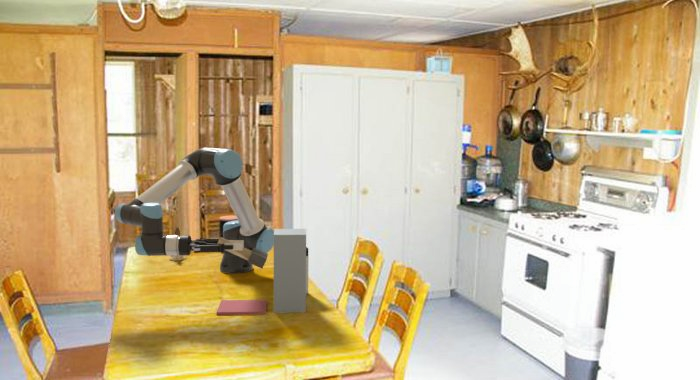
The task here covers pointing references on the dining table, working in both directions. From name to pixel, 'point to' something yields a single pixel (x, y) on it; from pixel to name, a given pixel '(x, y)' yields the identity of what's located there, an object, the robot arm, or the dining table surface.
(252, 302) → the mat
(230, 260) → the robot arm
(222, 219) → the coffee jar
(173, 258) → the hand bell
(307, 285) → the travel mug
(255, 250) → the stamp
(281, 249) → the pedestal
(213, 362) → the dining table surface
